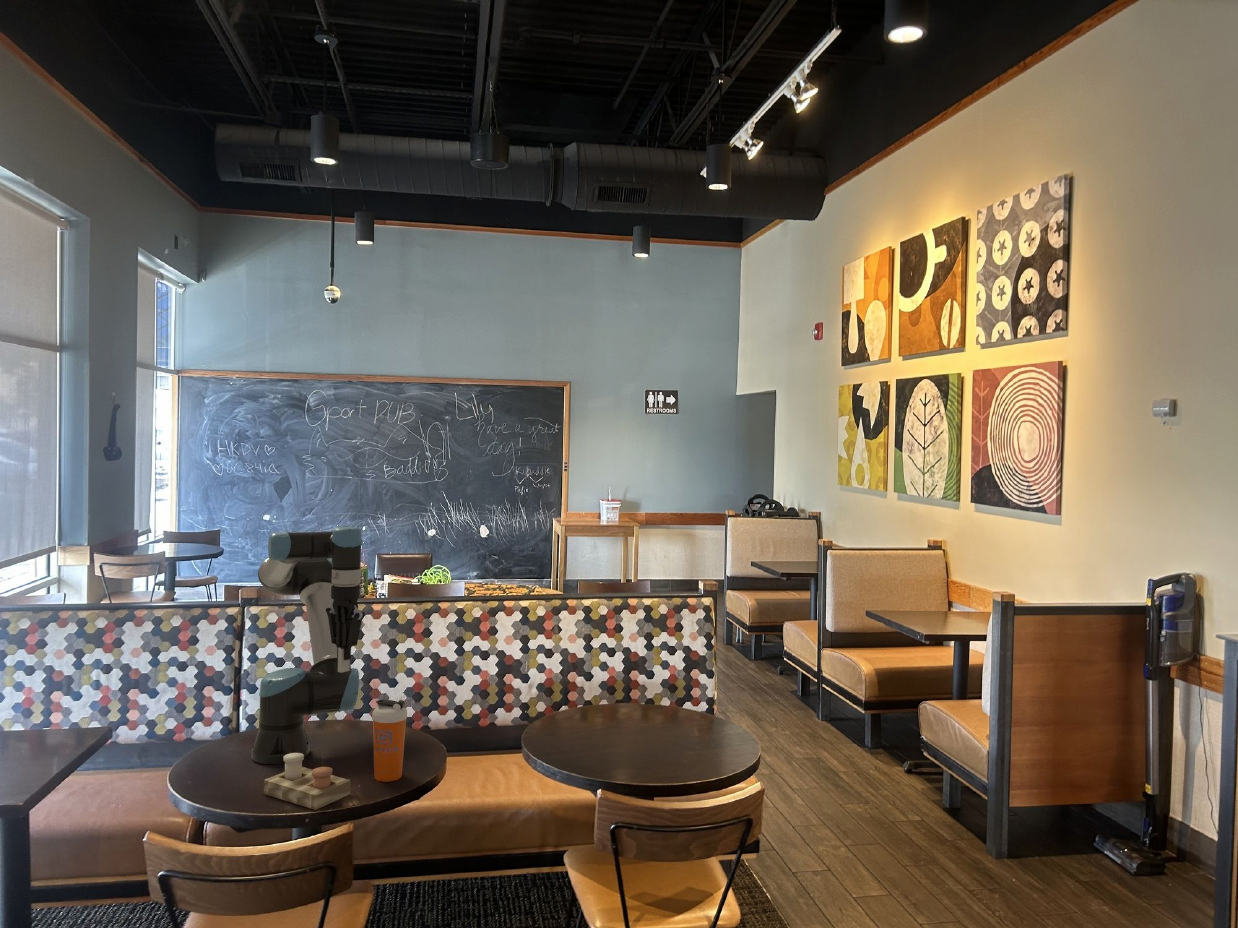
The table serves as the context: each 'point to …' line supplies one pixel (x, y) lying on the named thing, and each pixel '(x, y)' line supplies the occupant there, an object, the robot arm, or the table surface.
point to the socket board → (306, 789)
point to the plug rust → (321, 777)
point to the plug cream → (293, 766)
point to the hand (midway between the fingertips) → (343, 670)
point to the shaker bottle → (389, 739)
